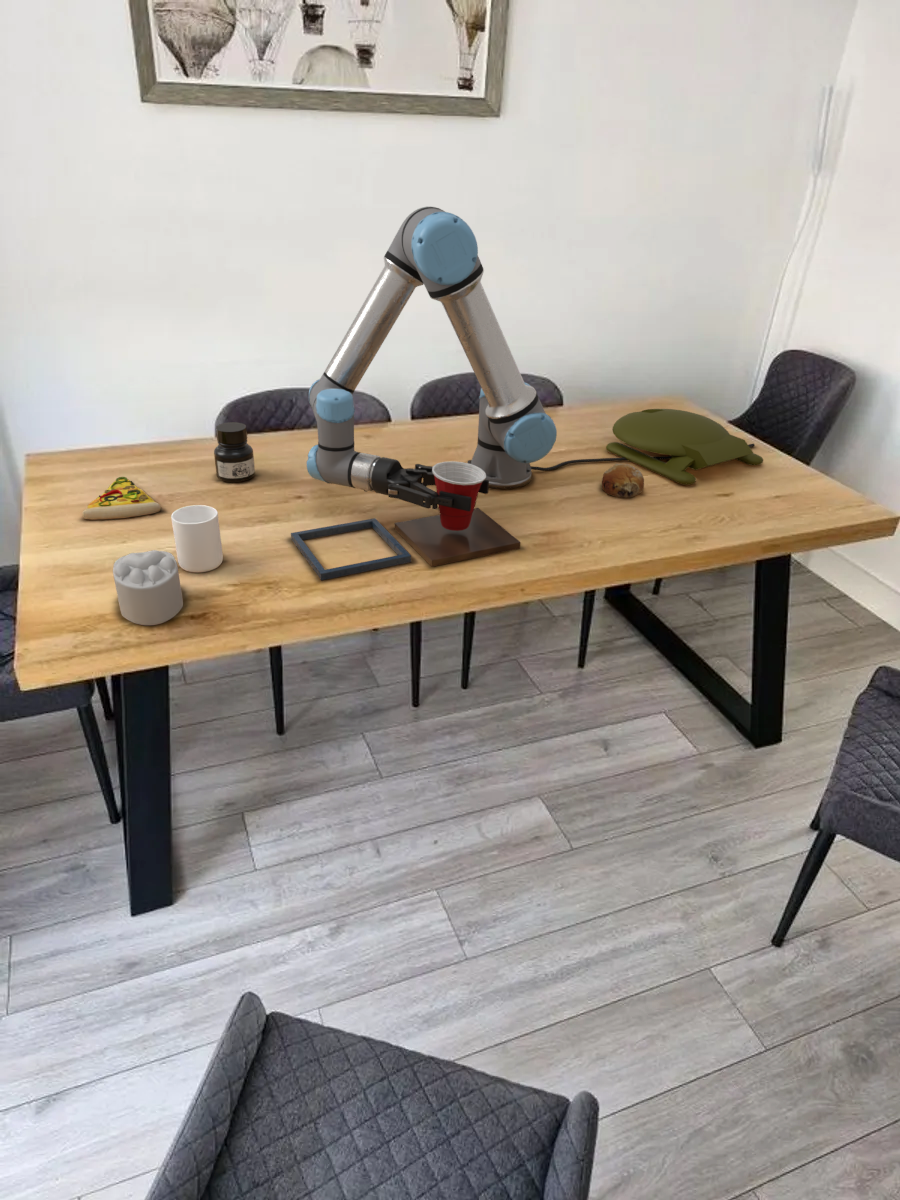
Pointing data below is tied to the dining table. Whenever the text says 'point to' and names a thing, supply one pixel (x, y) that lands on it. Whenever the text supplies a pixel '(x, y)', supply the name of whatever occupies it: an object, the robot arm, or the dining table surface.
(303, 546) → the square frame
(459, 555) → the walnut board
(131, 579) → the egg container
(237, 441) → the ink bottle
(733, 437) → the spaceship
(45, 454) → the dining table surface
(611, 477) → the bread roll
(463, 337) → the robot arm
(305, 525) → the dining table surface
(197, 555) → the mug
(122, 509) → the pizza slice
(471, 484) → the plastic cup
